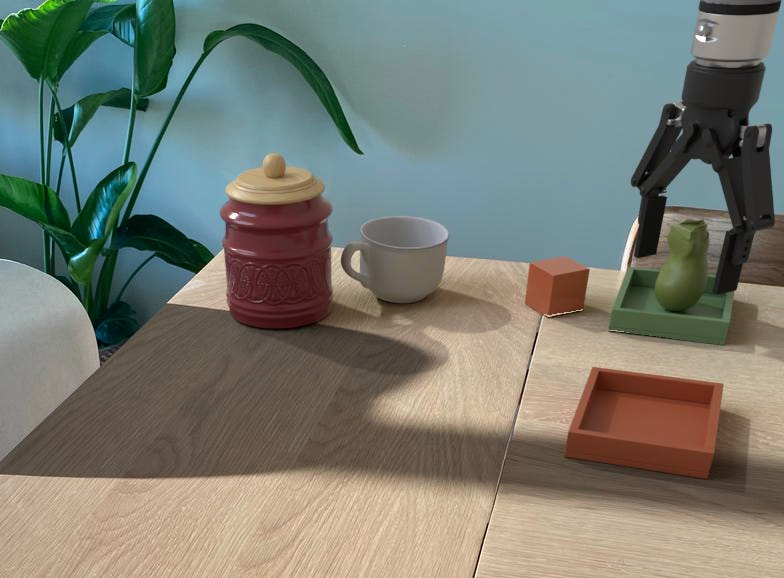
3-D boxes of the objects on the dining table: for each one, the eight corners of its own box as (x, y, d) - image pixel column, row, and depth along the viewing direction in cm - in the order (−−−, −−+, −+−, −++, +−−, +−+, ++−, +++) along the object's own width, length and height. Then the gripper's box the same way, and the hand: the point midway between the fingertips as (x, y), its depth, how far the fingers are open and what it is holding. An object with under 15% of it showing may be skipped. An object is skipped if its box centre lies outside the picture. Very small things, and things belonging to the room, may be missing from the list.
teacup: (423, 274, 127) (427, 210, 122) (459, 303, 119) (464, 236, 114) (323, 289, 124) (322, 224, 119) (353, 320, 116) (353, 252, 111)
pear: (708, 314, 113) (730, 224, 107) (669, 321, 112) (689, 231, 105) (678, 297, 117) (698, 210, 111) (641, 304, 116) (658, 216, 110)
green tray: (724, 345, 108) (730, 322, 106) (608, 331, 112) (612, 309, 110) (730, 298, 118) (736, 276, 117) (624, 287, 122) (628, 266, 120)
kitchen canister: (354, 314, 117) (355, 155, 106) (261, 340, 112) (252, 176, 101) (297, 283, 126) (292, 133, 115) (208, 305, 121) (194, 151, 110)
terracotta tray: (707, 479, 86) (714, 453, 85) (563, 457, 90) (568, 431, 88) (717, 407, 97) (723, 383, 95) (588, 390, 100) (592, 366, 99)
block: (583, 311, 116) (589, 268, 113) (547, 318, 115) (553, 275, 112) (559, 297, 120) (565, 255, 117) (524, 303, 119) (529, 262, 115)
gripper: (620, 46, 106) (590, 246, 120) (790, 84, 88) (733, 315, 102) (676, 40, 108) (640, 237, 122) (854, 75, 90) (789, 302, 104)
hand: (682, 273), depth 112 cm, fingers open, 13 cm apart
